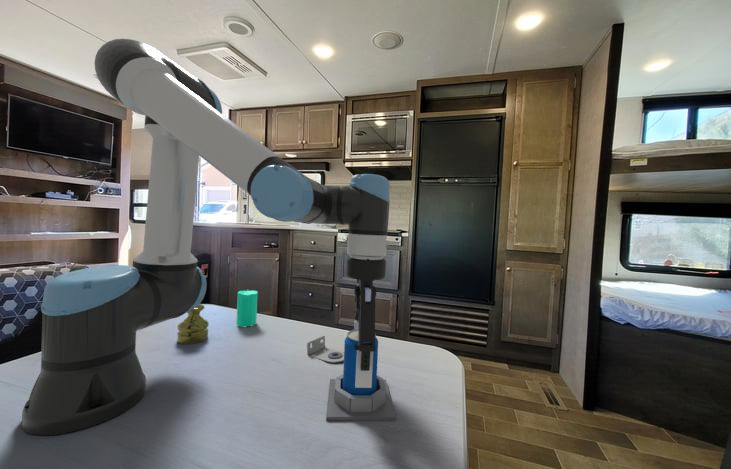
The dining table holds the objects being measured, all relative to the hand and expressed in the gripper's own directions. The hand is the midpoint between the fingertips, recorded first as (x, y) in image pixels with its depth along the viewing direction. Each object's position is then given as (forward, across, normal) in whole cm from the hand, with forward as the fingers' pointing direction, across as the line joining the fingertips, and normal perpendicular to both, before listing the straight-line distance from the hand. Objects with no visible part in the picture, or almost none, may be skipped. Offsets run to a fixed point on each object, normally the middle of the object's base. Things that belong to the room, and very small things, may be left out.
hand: (361, 366), depth 54 cm
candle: (+6, +40, +35) cm, 54 cm away
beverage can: (+6, 0, 0) cm, 6 cm away
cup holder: (+6, 0, 0) cm, 6 cm away
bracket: (+7, +19, +7) cm, 21 cm away
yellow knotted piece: (+7, +27, +45) cm, 53 cm away
